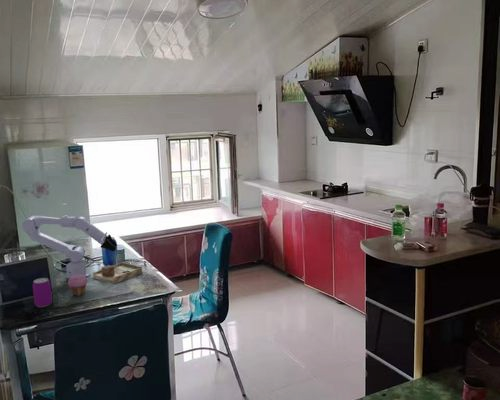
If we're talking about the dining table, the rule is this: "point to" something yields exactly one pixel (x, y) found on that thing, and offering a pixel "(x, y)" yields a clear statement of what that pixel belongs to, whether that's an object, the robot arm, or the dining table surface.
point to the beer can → (109, 256)
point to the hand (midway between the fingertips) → (115, 248)
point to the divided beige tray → (119, 272)
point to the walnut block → (108, 271)
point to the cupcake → (78, 284)
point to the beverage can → (42, 292)
